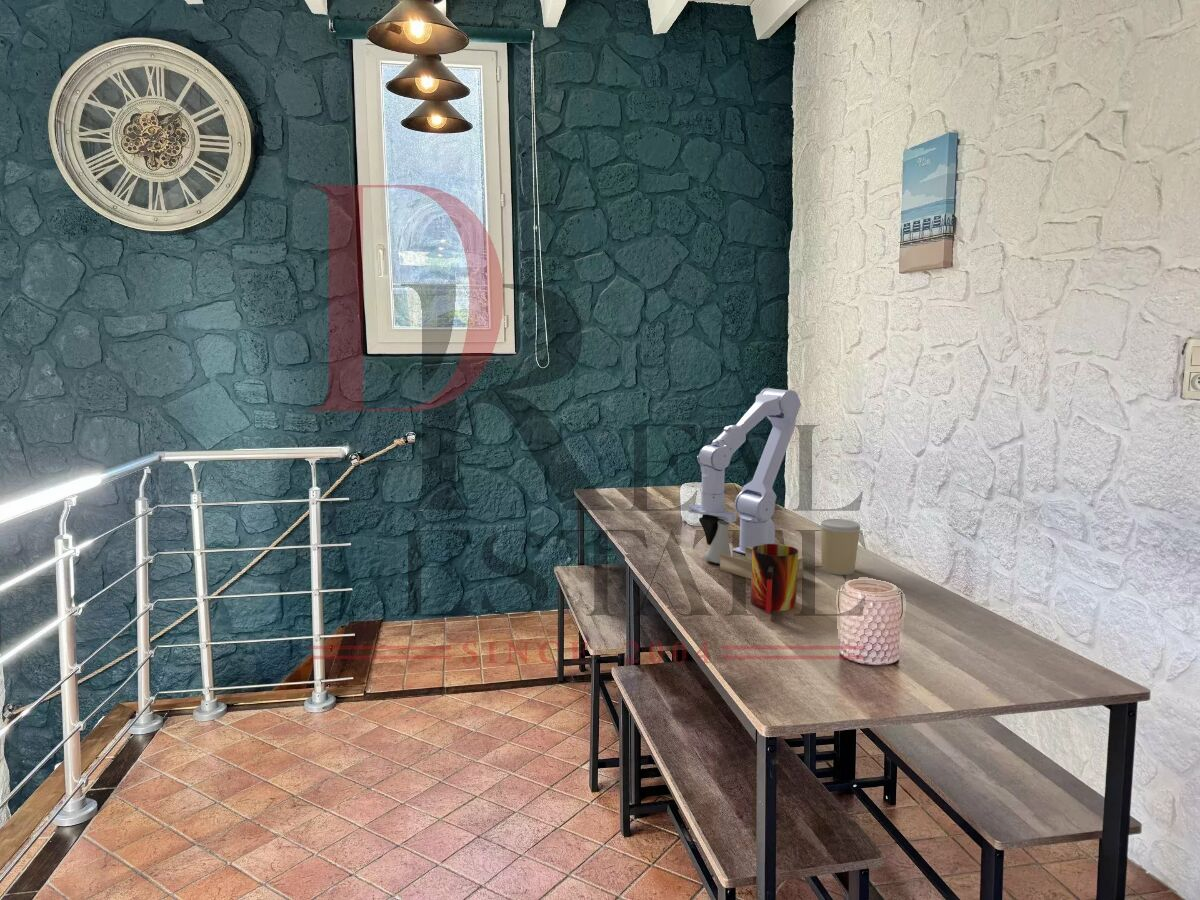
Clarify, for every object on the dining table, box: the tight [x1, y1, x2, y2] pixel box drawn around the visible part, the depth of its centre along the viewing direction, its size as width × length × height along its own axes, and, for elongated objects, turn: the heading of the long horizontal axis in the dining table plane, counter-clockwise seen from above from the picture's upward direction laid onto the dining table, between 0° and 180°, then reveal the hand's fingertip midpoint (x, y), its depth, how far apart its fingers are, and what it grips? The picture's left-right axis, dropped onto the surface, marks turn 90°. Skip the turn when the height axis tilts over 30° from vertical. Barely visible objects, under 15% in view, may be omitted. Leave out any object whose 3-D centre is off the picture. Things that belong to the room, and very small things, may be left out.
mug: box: [750, 543, 799, 614], centre depth 172 cm, size 10×14×12 cm
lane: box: [719, 547, 805, 581], centre depth 195 cm, size 11×17×5 cm, turn 41°
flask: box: [704, 520, 732, 565], centre depth 204 cm, size 7×7×10 cm
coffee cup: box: [820, 518, 861, 576], centre depth 198 cm, size 9×9×12 cm
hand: (711, 544), depth 207 cm, fingers closed
